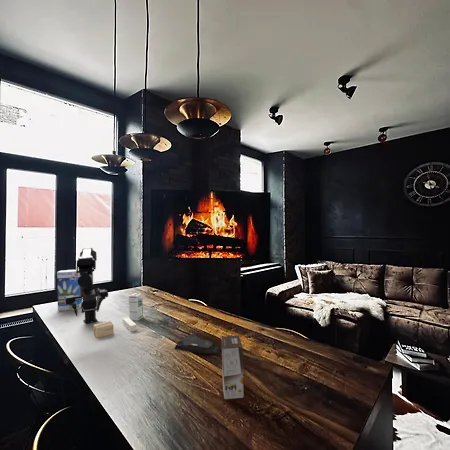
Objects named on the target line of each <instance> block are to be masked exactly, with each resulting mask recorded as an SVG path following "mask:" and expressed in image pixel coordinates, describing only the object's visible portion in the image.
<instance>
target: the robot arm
mask: <svg viewBox="0 0 450 450" xmlns="http://www.w3.org/2000/svg"><path fill="white" fill-rule="evenodd" d="M97 257H98V256H97V251H95V250H94V249H93V247H83V248H82V250H81V252H80V253H79V257H78V258H77V259H76V266H75V267H76V268H75V270H76V273H80V276H79V278H78V284H79V285H80V296H76V297H75V296H74V295H70V296H65V297H64V303H65V304H66V305H69V306H72V308H73V312H74V314H75V316H76V317H78V309H77V308H76V303H75V301H76V300H81V299H82V302H81V308H80V309H81V313H82V314H83V313H84V319H83V322H84V324H85V325H86V324H91V323H95V322H98V321H99V320H98V319H97V313H98V312H99V310H100V307H101V305H102V302H103V301H104V300H105V299H106V298H108V297H109V292H108V290H107V289H105V288H103V289H100V288H99V287H98V288H94V272H95V270H97V269H96V267H97V265H96V264H97V260H98V259H97ZM78 270H79V271H78Z"/></svg>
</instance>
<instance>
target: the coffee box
mask: <svg viewBox="0 0 450 450" xmlns="http://www.w3.org/2000/svg"><path fill="white" fill-rule="evenodd" d="M240 338H241V337H240V335H235V334H234V335H227V336H221V338H220V339H221V367H222V370H221V371H222V375H221V376H222V389H223V399H224V400H232V399H233V400H234V399H243V398H244V393H245V392H244V362H243V361H244V360H243V358H244V357H243V355H244V354H243V345H242V341H241V339H240Z"/></svg>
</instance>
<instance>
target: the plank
mask: <svg viewBox="0 0 450 450" xmlns="http://www.w3.org/2000/svg"><path fill="white" fill-rule="evenodd" d="M122 324H123V326H124V327H126V329H127V330H128V331H129V332H131V333H132V332H135V331H137V324H136V323H135V322H134V320H131V319H130V318H129V316H127V317H123V318H122Z"/></svg>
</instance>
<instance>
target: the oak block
mask: <svg viewBox="0 0 450 450" xmlns="http://www.w3.org/2000/svg"><path fill="white" fill-rule="evenodd" d="M112 334H113V335H114V323H113V322H112V321H111V320H109V321H108V320H107V321H103V322H99V323H95V324H93V335H94V336H95V337H96V339H98V338H101V337H102V338H103V337H105V336H106V337H107V336H110V335H112Z"/></svg>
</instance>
